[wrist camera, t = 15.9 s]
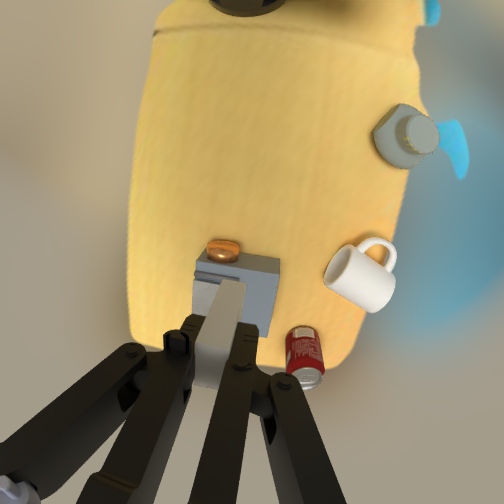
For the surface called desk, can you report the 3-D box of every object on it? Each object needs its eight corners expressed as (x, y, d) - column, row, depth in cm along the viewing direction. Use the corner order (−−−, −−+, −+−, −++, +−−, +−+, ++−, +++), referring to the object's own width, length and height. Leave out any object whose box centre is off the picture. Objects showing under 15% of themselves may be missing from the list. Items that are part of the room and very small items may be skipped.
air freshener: (394, 175, 42) (421, 181, 33) (361, 141, 41) (382, 138, 31) (428, 134, 39) (459, 132, 29) (397, 99, 37) (424, 89, 28)
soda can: (291, 321, 53) (293, 362, 42) (323, 328, 53) (332, 369, 42) (281, 347, 55) (280, 388, 44) (311, 353, 55) (316, 395, 44)
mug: (360, 299, 50) (372, 321, 43) (320, 274, 49) (326, 294, 42) (398, 248, 46) (417, 264, 39) (359, 218, 45) (373, 231, 38)
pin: (211, 238, 48) (203, 248, 43) (241, 243, 48) (237, 253, 43) (205, 317, 53) (198, 332, 48) (231, 321, 53) (226, 337, 48)
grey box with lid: (206, 247, 49) (194, 262, 42) (280, 258, 49) (280, 276, 42) (202, 305, 53) (191, 326, 46) (268, 316, 53) (266, 340, 46)
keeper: (194, 277, 44) (193, 280, 43) (238, 285, 43) (237, 288, 43) (192, 324, 47) (191, 326, 46) (232, 331, 46) (231, 334, 46)
